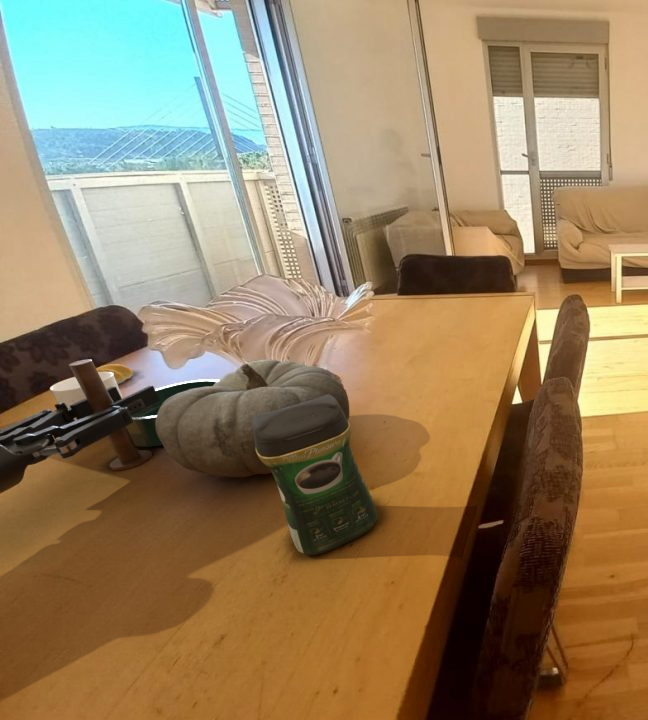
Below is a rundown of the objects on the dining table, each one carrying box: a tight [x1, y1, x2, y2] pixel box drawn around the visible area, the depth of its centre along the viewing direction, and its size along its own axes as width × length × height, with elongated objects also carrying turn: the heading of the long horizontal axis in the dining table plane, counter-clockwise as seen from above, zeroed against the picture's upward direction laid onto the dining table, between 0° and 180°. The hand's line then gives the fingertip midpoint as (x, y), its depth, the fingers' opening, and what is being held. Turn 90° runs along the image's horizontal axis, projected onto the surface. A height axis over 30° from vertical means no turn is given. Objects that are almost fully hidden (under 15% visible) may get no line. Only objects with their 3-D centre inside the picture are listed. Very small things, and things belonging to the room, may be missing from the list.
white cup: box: [49, 372, 124, 421], centre depth 87 cm, size 8×8×10 cm
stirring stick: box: [68, 358, 153, 471], centre depth 75 cm, size 5×5×18 cm
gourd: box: [155, 358, 351, 478], centre depth 77 cm, size 25×25×17 cm
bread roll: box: [96, 363, 134, 386], centre depth 107 cm, size 8×9×4 cm
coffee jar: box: [252, 395, 378, 556], centre depth 59 cm, size 10×8×19 cm
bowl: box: [126, 378, 220, 448], centre depth 88 cm, size 16×16×6 cm
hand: (135, 393), depth 79 cm, fingers open, 6 cm apart
